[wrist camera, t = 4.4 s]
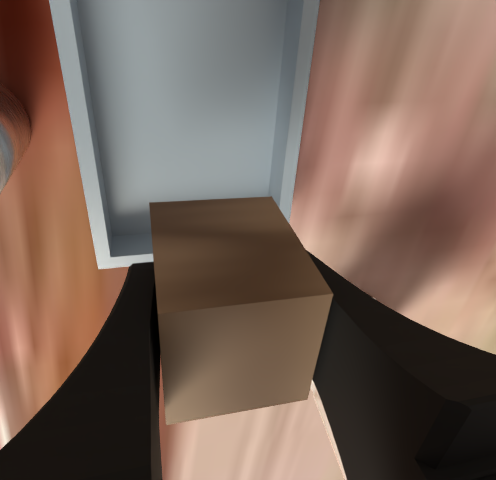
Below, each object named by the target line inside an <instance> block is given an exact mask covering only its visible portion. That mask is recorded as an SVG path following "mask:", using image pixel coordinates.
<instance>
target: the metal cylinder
mask: <svg viewBox="0 0 496 480" xmlns="http://www.w3.org/2000/svg"><path fill="white" fill-rule="evenodd" d="M30 138H31V126H30V121H29V118H28V115H27V113H26V111H25V109H24V107H23V105H22V104H21V102H20V101H19V100H18V98H17V97H16V96H15V95H14V94H13V93H12V92H11V91H10V90H9V89H8V88H6V87H5V86H4V85H2V84H1V83H0V194H1V192H2V190H3V188H4V187H5V185H6V183H7V182H8V180H9V178H10V177H11V175H12V173H13V172H14V170H15V168H16V167H17V165H18V163H19V162H20V160H21V158H22V157H23V155H24V153H25V152H26V150H27V148H28V146H29V143H30Z"/></svg>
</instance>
